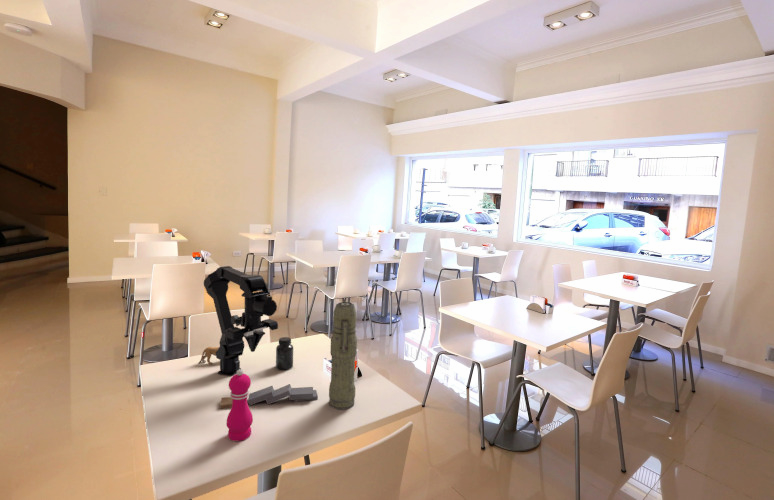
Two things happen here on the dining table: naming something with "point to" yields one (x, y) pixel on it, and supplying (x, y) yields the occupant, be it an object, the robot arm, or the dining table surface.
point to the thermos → (343, 356)
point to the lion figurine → (208, 354)
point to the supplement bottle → (284, 354)
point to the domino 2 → (261, 395)
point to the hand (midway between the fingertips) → (252, 351)
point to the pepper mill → (239, 408)
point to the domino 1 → (226, 403)
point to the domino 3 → (280, 394)
